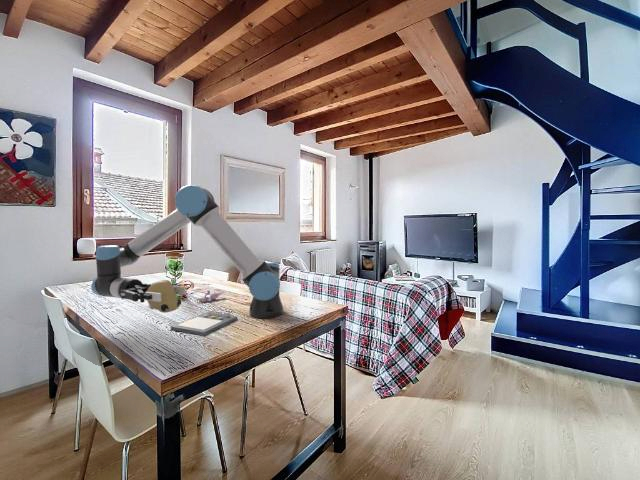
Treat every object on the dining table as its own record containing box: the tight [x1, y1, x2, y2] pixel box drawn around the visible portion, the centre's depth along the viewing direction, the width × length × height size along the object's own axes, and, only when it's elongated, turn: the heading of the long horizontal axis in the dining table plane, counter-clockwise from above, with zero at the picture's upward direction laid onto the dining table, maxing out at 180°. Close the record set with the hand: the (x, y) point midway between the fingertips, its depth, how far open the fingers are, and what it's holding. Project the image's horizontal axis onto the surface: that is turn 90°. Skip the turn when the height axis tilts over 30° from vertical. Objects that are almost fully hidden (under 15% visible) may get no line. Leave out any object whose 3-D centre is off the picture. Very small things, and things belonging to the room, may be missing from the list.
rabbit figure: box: [196, 289, 226, 304], centre depth 162 cm, size 6×6×15 cm
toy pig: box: [146, 279, 182, 314], centre depth 109 cm, size 10×12×11 cm
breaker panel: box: [170, 309, 238, 336], centre depth 126 cm, size 16×20×3 cm
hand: (173, 293), depth 107 cm, fingers closed on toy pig, 10 cm apart
